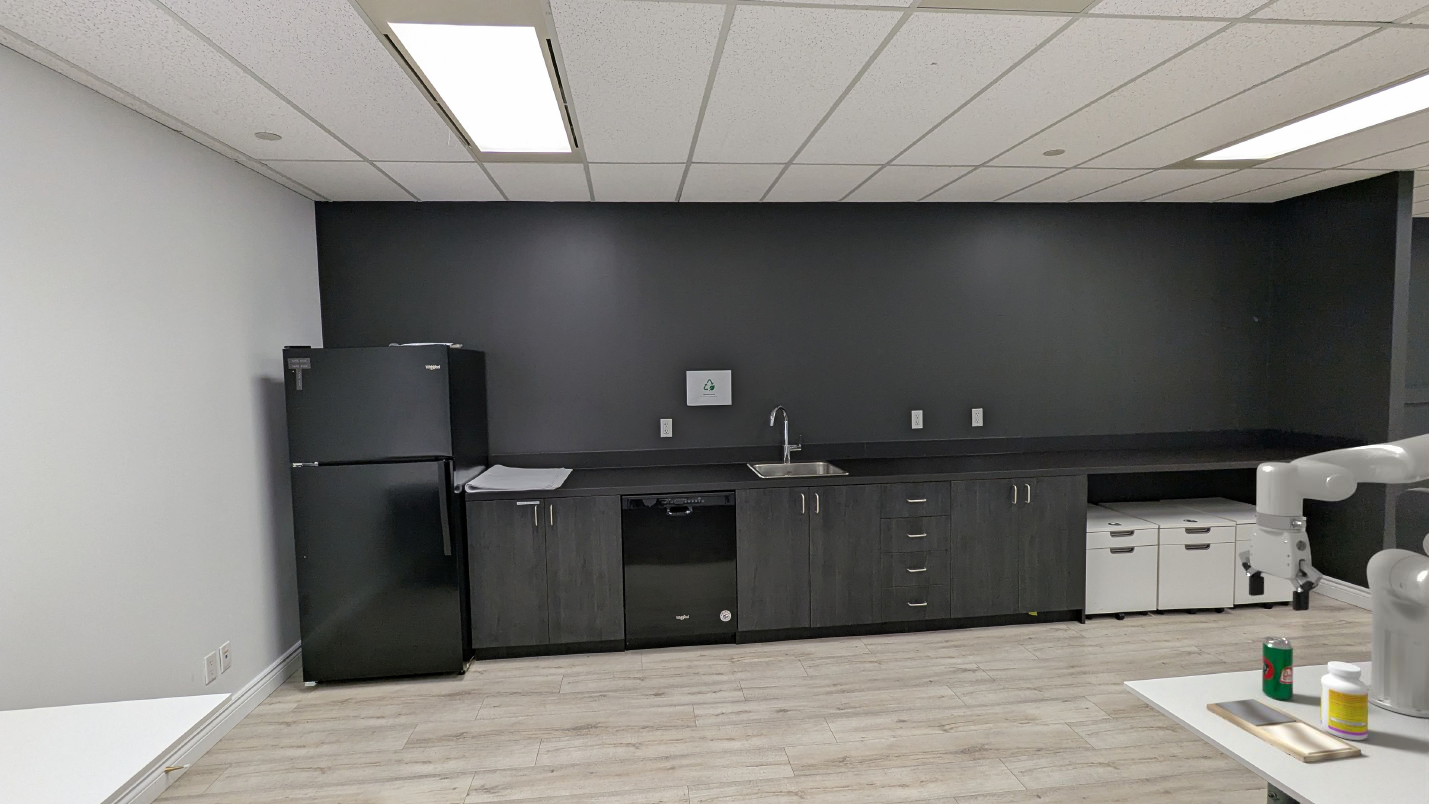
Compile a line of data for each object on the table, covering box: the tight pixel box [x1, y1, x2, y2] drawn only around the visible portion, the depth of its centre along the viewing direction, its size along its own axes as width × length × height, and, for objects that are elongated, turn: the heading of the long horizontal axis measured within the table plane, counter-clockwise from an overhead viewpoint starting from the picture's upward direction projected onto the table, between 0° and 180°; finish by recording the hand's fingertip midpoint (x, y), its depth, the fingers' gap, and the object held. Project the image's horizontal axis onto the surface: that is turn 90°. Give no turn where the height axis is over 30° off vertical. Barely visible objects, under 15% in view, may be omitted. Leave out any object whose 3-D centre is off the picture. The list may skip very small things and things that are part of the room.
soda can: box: [1261, 636, 1294, 701], centre depth 147 cm, size 5×5×12 cm
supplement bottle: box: [1320, 660, 1369, 741], centre depth 132 cm, size 7×7×13 cm
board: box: [1206, 698, 1362, 763], centre depth 133 cm, size 12×20×1 cm, turn 9°
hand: (1277, 602), depth 146 cm, fingers open, 9 cm apart
